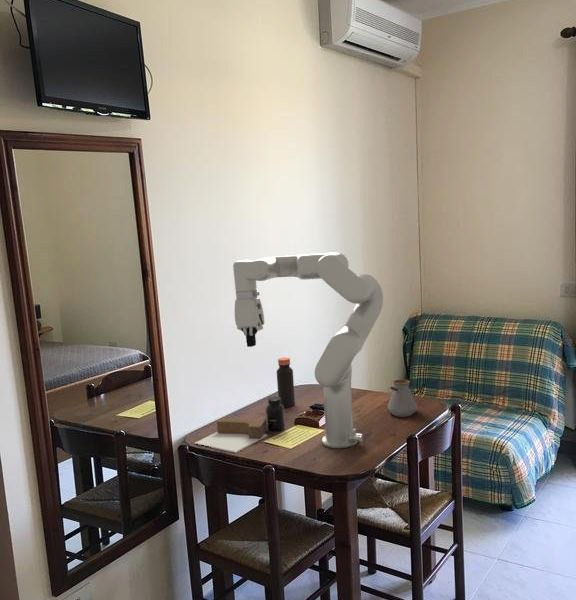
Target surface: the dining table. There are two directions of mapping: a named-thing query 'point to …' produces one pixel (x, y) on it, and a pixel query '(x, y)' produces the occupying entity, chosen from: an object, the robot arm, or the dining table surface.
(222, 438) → the off-white mat
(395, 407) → the coffee pot
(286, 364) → the vinegar
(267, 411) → the supplement bottle
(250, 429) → the wooden block
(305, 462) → the dining table surface
